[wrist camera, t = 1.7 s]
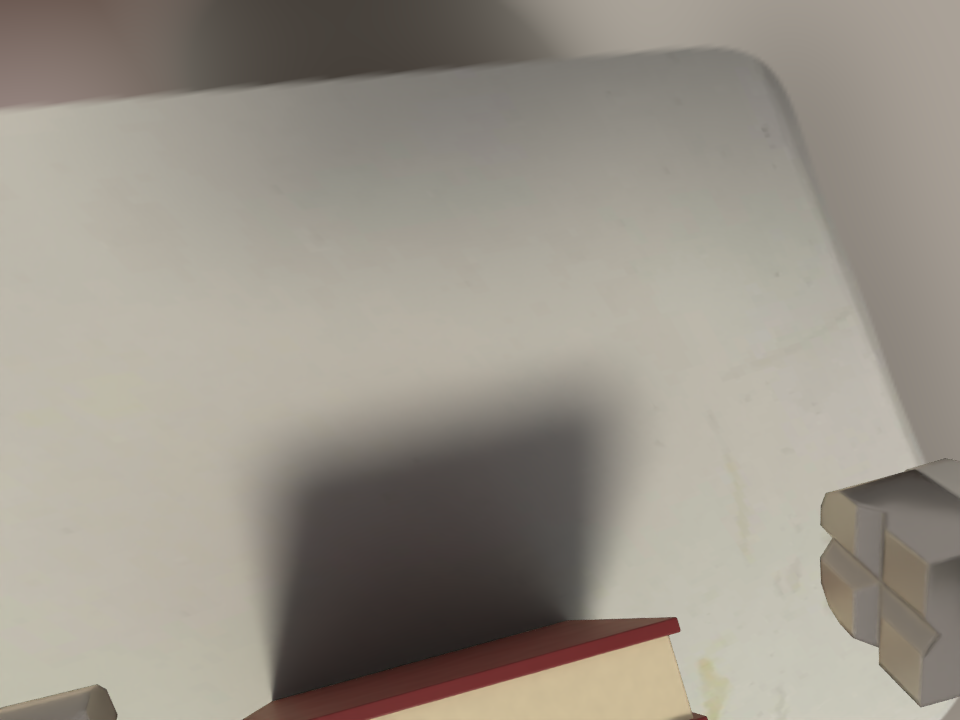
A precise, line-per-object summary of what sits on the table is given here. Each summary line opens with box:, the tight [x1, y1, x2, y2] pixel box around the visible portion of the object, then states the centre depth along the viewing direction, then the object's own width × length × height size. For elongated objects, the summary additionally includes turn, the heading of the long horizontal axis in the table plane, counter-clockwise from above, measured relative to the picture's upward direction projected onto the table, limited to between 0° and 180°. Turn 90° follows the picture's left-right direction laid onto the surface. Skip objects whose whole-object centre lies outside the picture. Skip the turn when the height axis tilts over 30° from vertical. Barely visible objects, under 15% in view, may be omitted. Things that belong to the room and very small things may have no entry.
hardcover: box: [243, 617, 708, 720], centre depth 30 cm, size 3×13×16 cm
